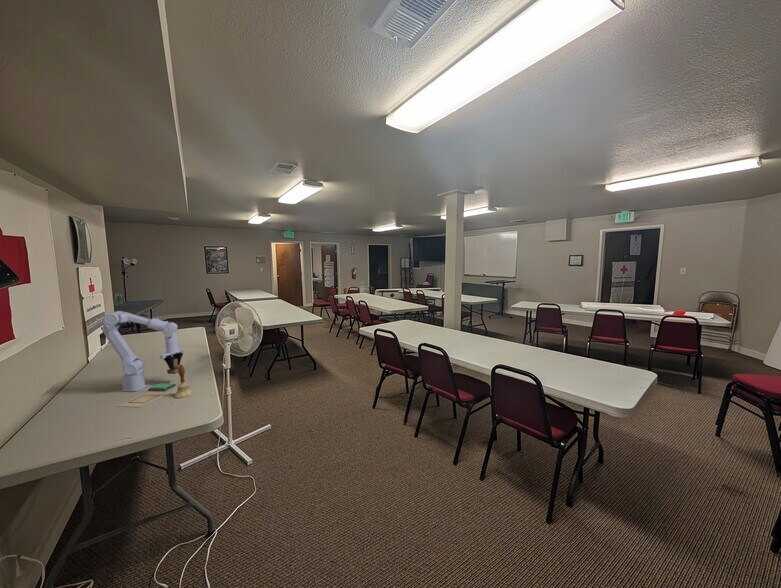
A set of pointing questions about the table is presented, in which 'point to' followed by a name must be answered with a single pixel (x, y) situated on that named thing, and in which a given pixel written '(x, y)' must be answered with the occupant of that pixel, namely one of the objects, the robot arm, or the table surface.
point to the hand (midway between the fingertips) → (174, 367)
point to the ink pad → (161, 387)
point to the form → (143, 399)
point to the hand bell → (183, 385)
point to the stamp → (174, 367)
